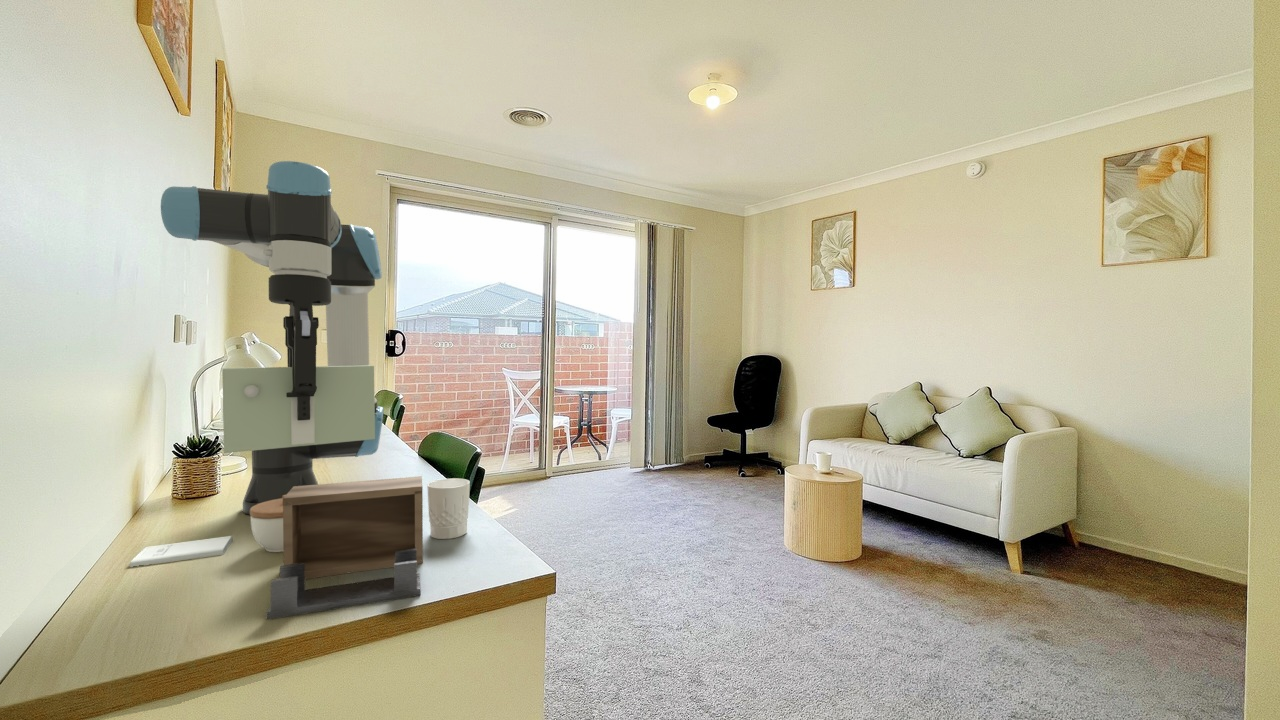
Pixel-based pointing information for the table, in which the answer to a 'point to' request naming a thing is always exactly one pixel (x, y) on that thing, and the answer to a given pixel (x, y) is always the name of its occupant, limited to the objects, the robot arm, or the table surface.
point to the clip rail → (341, 589)
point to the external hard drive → (182, 551)
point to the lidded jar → (268, 524)
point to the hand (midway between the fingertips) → (301, 441)
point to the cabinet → (352, 525)
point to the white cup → (448, 507)
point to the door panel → (265, 411)
